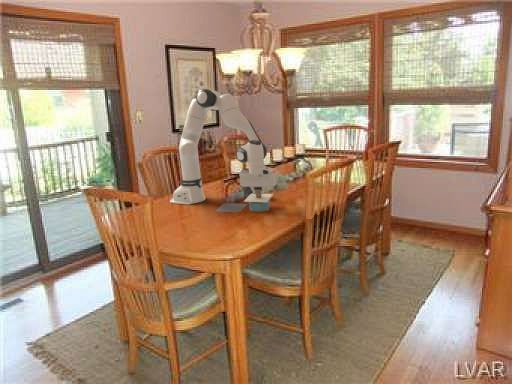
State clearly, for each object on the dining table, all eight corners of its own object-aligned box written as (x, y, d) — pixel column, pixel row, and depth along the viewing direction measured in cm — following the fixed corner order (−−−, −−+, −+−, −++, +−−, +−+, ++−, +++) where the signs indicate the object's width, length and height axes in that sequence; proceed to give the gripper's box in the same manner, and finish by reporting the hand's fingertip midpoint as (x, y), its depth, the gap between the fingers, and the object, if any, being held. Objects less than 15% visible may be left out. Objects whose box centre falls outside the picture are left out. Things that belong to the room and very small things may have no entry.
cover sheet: (244, 201, 219) (243, 193, 217) (251, 194, 231) (250, 186, 229) (267, 202, 215) (266, 194, 213) (272, 195, 227) (272, 187, 225)
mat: (214, 212, 224) (214, 211, 224) (224, 204, 238) (223, 203, 238) (239, 212, 220) (239, 212, 220) (247, 204, 234) (247, 203, 234)
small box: (262, 197, 247) (261, 180, 244) (262, 200, 241) (260, 183, 238) (246, 197, 248) (244, 181, 245) (244, 200, 242) (243, 184, 239)
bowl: (247, 211, 221) (246, 203, 219) (253, 205, 231) (252, 197, 230) (266, 212, 218) (266, 203, 216) (271, 206, 228) (270, 197, 226)
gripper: (237, 171, 218) (239, 195, 222) (273, 171, 212) (274, 195, 216) (240, 168, 224) (242, 192, 228) (275, 168, 218) (277, 192, 222)
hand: (258, 194), depth 222 cm, fingers closed on cover sheet, 3 cm apart
